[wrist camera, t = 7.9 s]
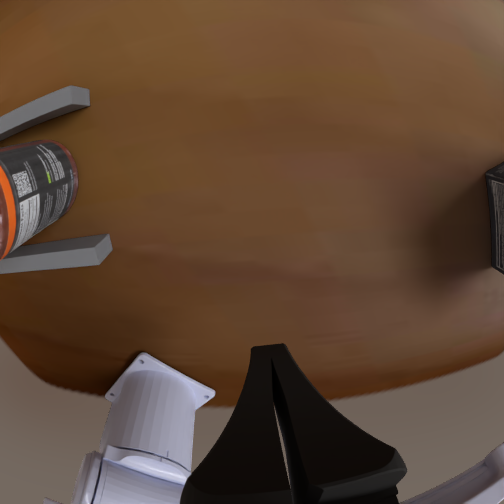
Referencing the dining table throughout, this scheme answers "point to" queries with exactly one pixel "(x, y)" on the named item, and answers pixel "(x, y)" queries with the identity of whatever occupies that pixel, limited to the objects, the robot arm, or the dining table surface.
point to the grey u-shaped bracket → (61, 251)
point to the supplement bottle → (33, 189)
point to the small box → (496, 214)
